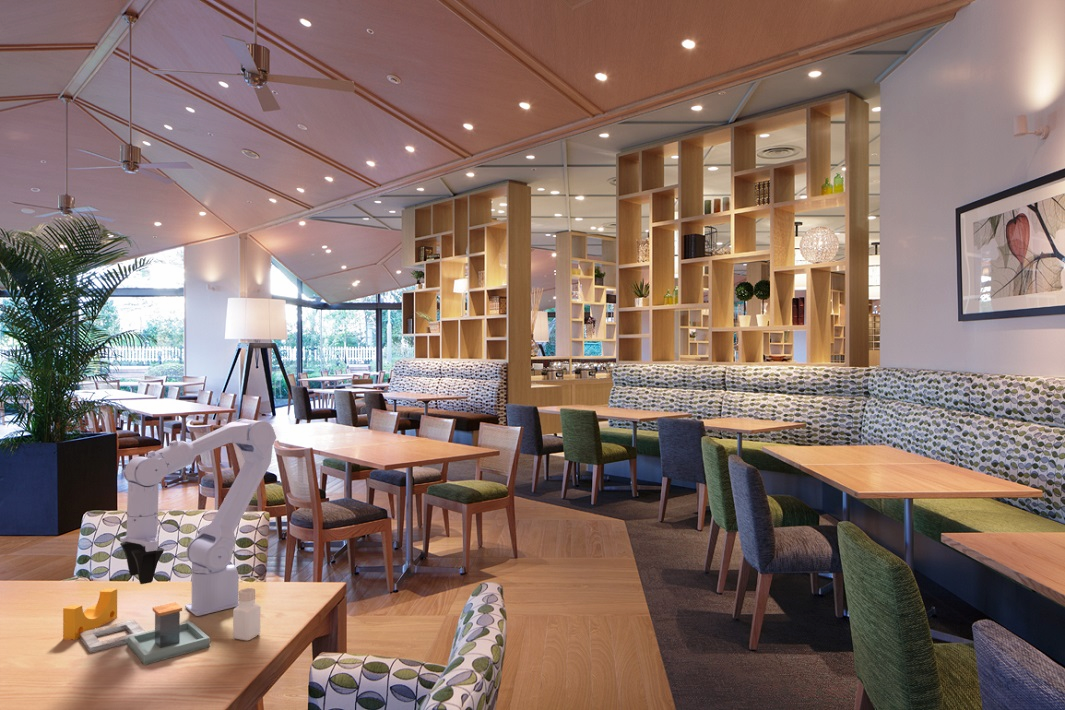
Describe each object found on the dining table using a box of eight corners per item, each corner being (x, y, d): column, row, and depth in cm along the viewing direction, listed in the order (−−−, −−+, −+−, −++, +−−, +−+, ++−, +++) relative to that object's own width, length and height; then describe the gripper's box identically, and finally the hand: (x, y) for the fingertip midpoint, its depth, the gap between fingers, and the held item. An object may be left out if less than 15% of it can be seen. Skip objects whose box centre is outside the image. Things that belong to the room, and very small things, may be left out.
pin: (175, 636, 139) (175, 602, 139) (182, 643, 136) (182, 607, 136) (152, 642, 137) (152, 607, 137) (158, 649, 134) (158, 613, 134)
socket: (134, 624, 147) (134, 619, 147) (147, 638, 140) (147, 633, 140) (79, 637, 140) (79, 632, 140) (90, 652, 133) (90, 647, 133)
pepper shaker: (231, 639, 140) (232, 592, 140) (246, 631, 144) (246, 586, 144) (247, 642, 138) (247, 595, 138) (261, 634, 142) (261, 588, 142)
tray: (190, 629, 145) (190, 621, 145) (209, 646, 136) (209, 637, 136) (128, 645, 137) (128, 636, 137) (144, 664, 128) (144, 655, 128)
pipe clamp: (98, 617, 152) (99, 588, 152) (117, 618, 151) (117, 588, 151) (55, 639, 140) (55, 607, 140) (74, 640, 139) (74, 608, 139)
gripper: (112, 510, 148) (110, 574, 148) (130, 522, 138) (128, 591, 137) (148, 506, 153) (146, 568, 153) (168, 518, 142) (167, 583, 142)
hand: (140, 578), depth 145 cm, fingers open, 7 cm apart
